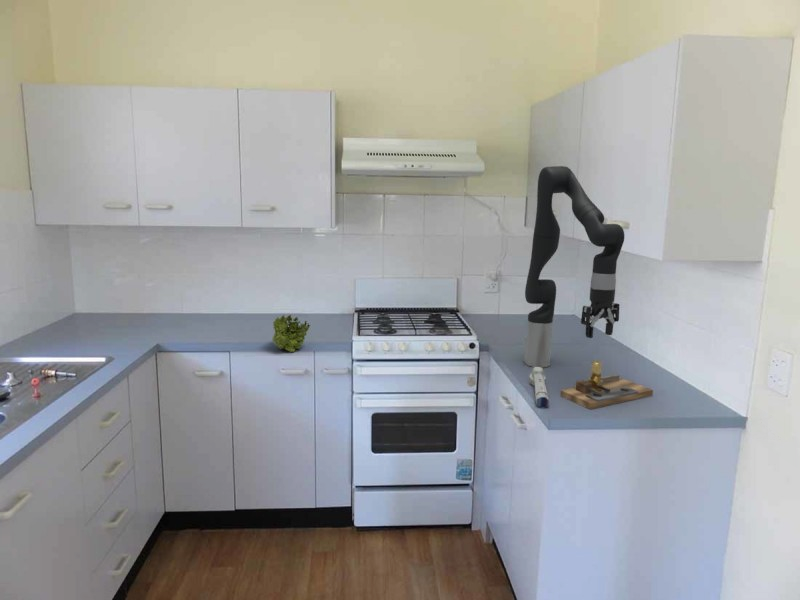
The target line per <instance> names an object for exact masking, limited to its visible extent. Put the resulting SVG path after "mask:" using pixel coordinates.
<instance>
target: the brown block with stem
mask: <svg viewBox="0 0 800 600" xmlns="http://www.w3.org/2000/svg"><path fill="white" fill-rule="evenodd" d="M575 382H576V390H577V391H579V392H581V393H584V394H586V393H591V392H592V393H595V394H599V392H598V391H596V390H594V389H592V383H589V382H587V381H585V380H584V379H581V380H576V381H575Z"/></svg>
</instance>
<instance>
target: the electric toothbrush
mask: <svg viewBox="0 0 800 600" xmlns="http://www.w3.org/2000/svg"><path fill="white" fill-rule="evenodd" d="M529 380H530V382H529V383H530V385H532V386H533V387H534V393H535V394H534V401H535V405H536V406H537V407H538V408H541V407H546V408H547V407H549V406H550V394H548V392H547V388H546V387H547V386H546V383H545V381H546V375H544V370H543V367H542V368H541V367H532V370H531V373H530V374H529Z"/></svg>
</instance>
